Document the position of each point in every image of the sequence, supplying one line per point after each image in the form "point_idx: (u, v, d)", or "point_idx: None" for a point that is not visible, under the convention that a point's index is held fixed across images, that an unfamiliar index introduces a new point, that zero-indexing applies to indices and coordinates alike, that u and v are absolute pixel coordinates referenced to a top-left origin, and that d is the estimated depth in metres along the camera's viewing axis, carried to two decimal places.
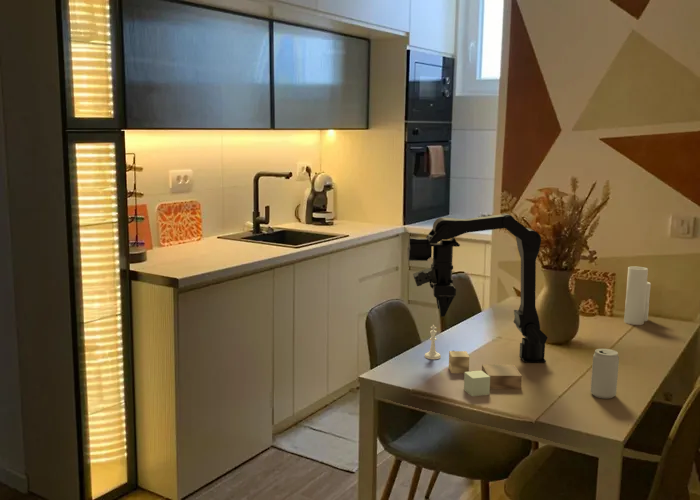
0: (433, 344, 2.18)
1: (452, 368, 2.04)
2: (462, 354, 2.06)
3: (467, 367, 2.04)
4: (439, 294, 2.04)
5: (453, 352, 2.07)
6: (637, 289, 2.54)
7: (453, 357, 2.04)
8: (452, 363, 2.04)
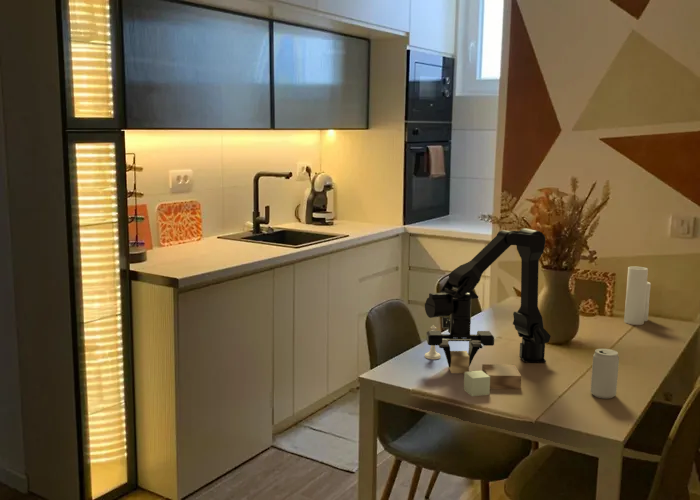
0: None
1: (452, 368, 2.04)
2: (462, 353, 2.06)
3: (467, 367, 2.04)
4: (426, 339, 2.07)
5: (453, 352, 2.07)
6: (637, 289, 2.54)
7: (453, 357, 2.04)
8: (452, 363, 2.04)
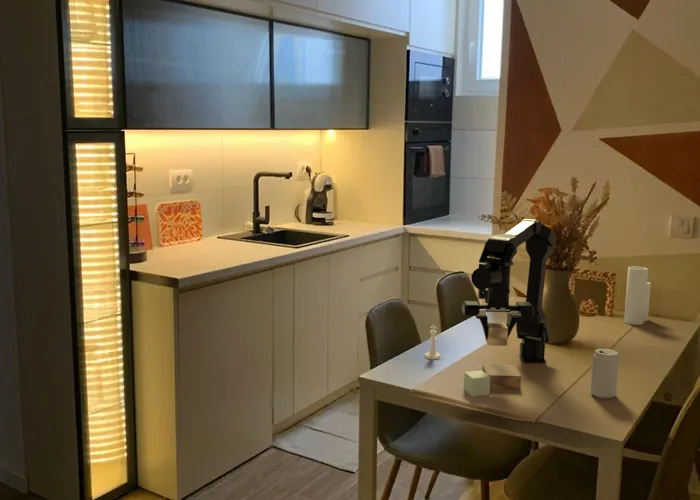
0: (433, 344, 2.18)
1: (489, 340, 1.94)
2: (500, 325, 1.96)
3: (505, 339, 1.94)
4: (462, 309, 1.97)
5: (490, 323, 1.97)
6: (637, 289, 2.54)
7: (491, 328, 1.93)
8: (490, 334, 1.94)
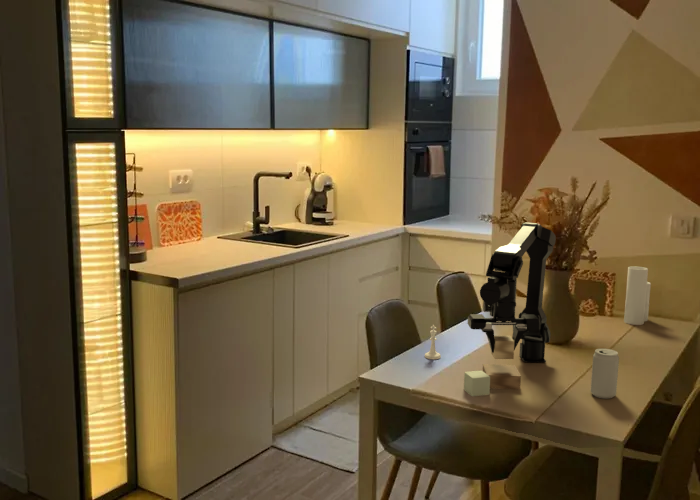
0: (433, 344, 2.18)
1: (496, 353, 1.93)
2: (506, 338, 1.95)
3: (512, 352, 1.93)
4: (468, 323, 1.96)
5: (496, 336, 1.96)
6: (637, 289, 2.54)
7: (497, 341, 1.93)
8: (496, 348, 1.93)
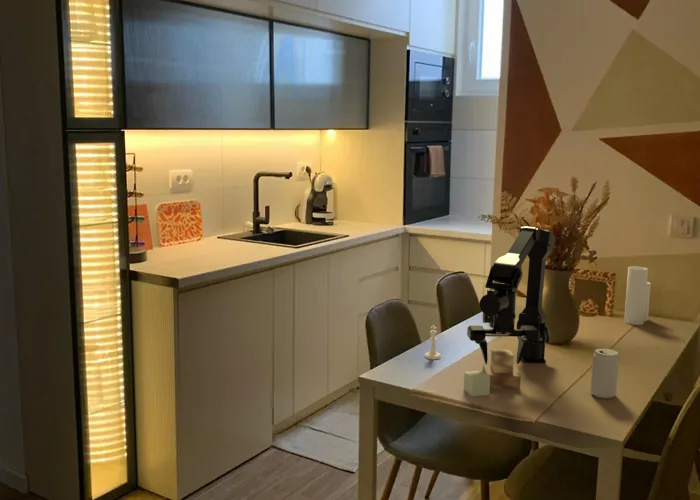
0: (433, 344, 2.18)
1: (495, 367, 1.94)
2: (505, 352, 1.96)
3: (511, 366, 1.94)
4: (467, 334, 1.96)
5: (495, 350, 1.97)
6: (637, 289, 2.54)
7: (497, 356, 1.93)
8: (495, 362, 1.94)
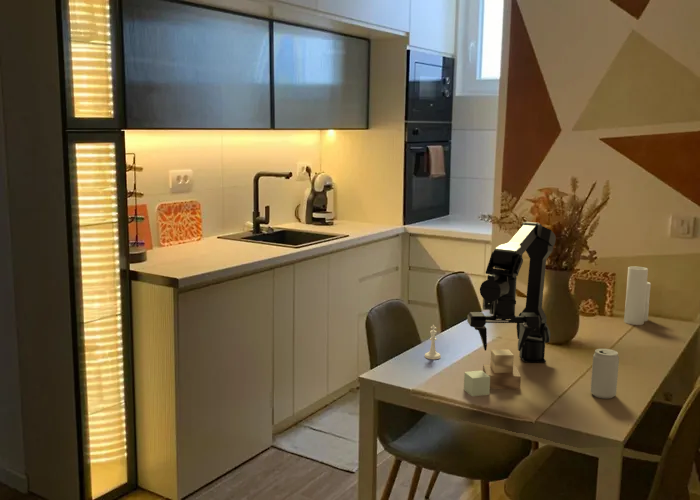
0: (433, 344, 2.18)
1: (495, 367, 1.94)
2: (505, 352, 1.96)
3: (511, 366, 1.94)
4: (468, 321, 1.96)
5: (495, 350, 1.97)
6: (637, 289, 2.54)
7: (497, 356, 1.93)
8: (495, 362, 1.94)
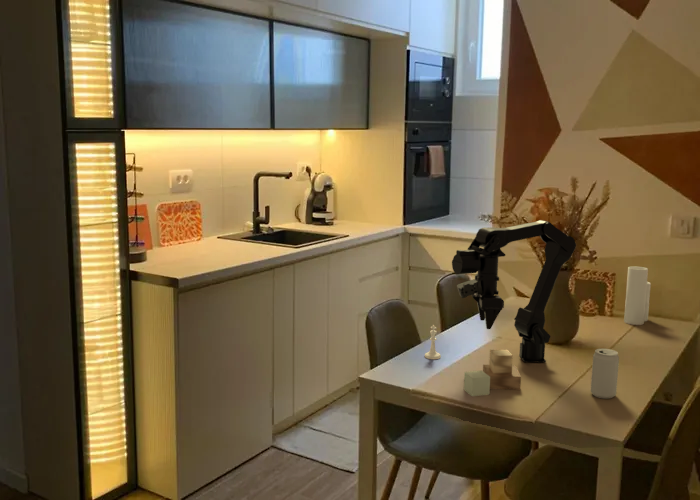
0: (433, 344, 2.18)
1: (494, 368, 1.94)
2: (504, 352, 1.96)
3: (510, 366, 1.94)
4: (487, 306, 1.98)
5: (494, 351, 1.97)
6: (637, 289, 2.54)
7: (496, 356, 1.93)
8: (494, 362, 1.94)
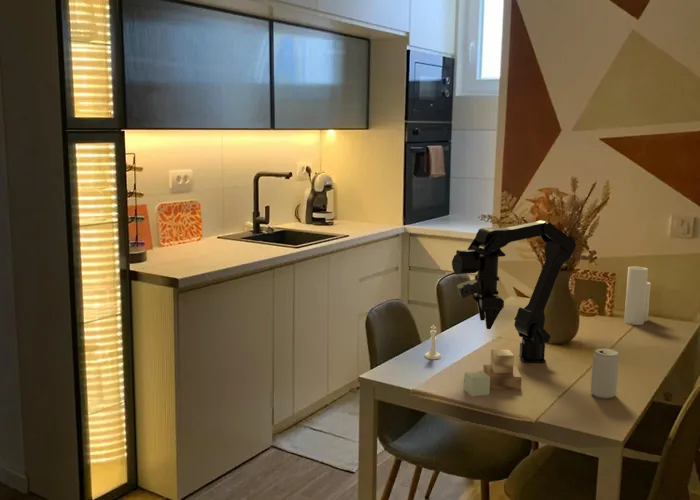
0: (433, 344, 2.18)
1: (496, 368, 1.94)
2: (505, 352, 1.96)
3: (511, 366, 1.94)
4: (487, 306, 1.98)
5: (495, 351, 1.97)
6: (637, 289, 2.54)
7: (497, 356, 1.93)
8: (496, 362, 1.94)
